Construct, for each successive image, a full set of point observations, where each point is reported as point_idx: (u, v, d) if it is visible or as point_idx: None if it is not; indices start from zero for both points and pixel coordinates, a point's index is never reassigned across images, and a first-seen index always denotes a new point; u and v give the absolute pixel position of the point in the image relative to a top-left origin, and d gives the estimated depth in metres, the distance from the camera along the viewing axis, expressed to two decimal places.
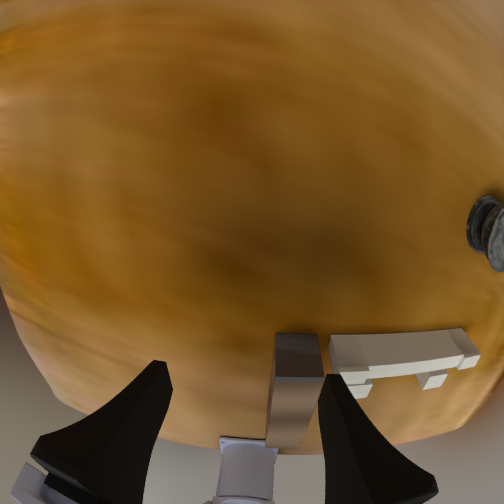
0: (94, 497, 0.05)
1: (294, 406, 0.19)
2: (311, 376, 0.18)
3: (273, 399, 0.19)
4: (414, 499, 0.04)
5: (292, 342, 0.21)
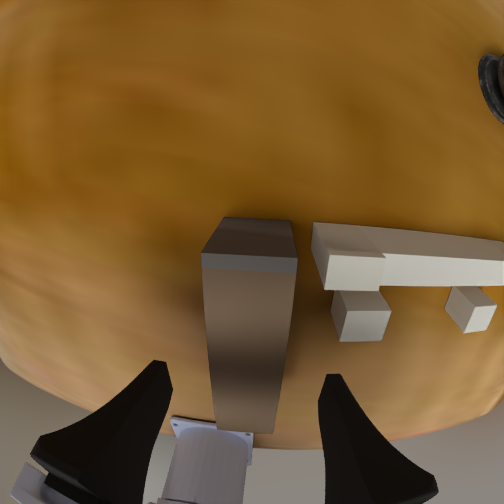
0: (94, 497, 0.05)
1: (247, 336, 0.11)
2: (270, 255, 0.10)
3: (206, 316, 0.11)
4: (414, 499, 0.04)
5: (247, 224, 0.13)
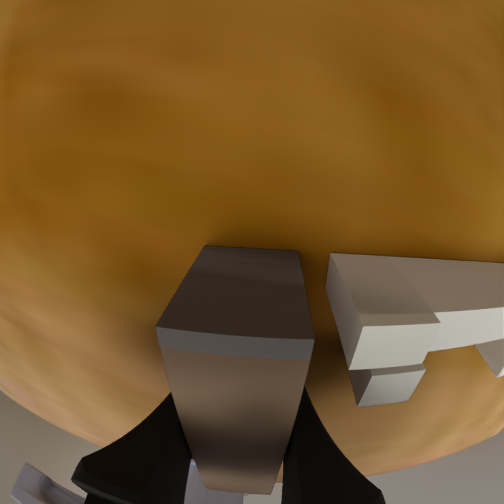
0: None
1: (235, 424, 0.07)
2: (269, 334, 0.06)
3: (176, 401, 0.07)
4: None
5: (235, 260, 0.09)
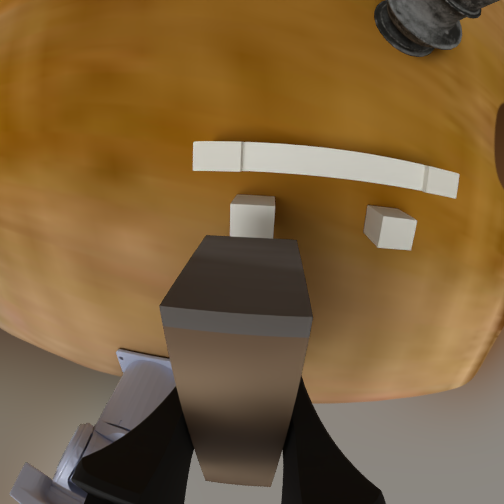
0: None
1: (236, 408, 0.07)
2: (269, 311, 0.06)
3: (178, 384, 0.07)
4: None
5: (236, 247, 0.10)
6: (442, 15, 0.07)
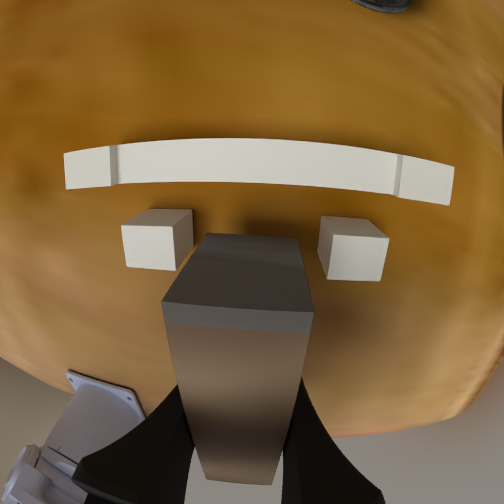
0: None
1: (237, 405, 0.07)
2: (270, 307, 0.06)
3: (179, 380, 0.07)
4: None
5: (237, 244, 0.10)
6: None
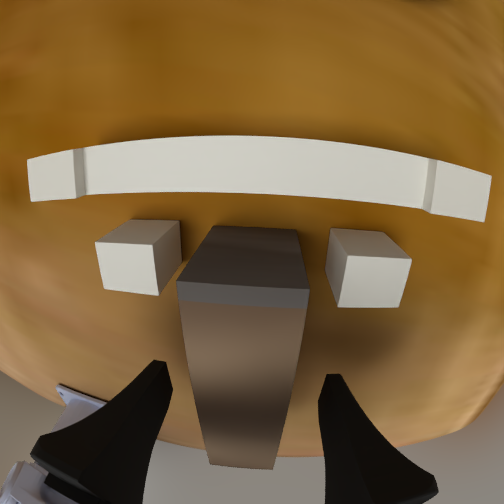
0: (94, 497, 0.05)
1: (242, 380, 0.08)
2: (272, 284, 0.07)
3: (189, 357, 0.08)
4: (414, 499, 0.04)
5: (241, 235, 0.11)
6: None
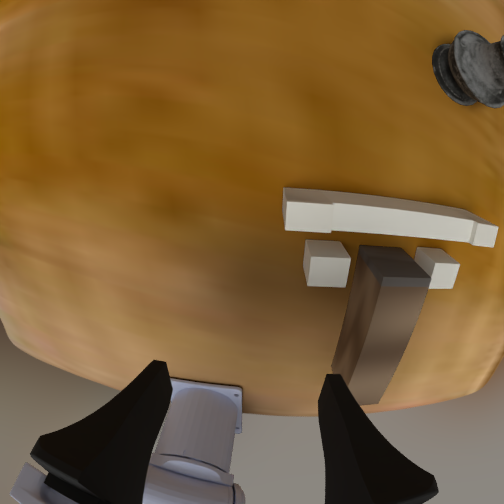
0: (94, 497, 0.05)
1: (393, 328, 0.15)
2: (418, 276, 0.14)
3: (373, 318, 0.15)
4: (414, 499, 0.04)
5: (381, 252, 0.18)
6: (502, 81, 0.08)
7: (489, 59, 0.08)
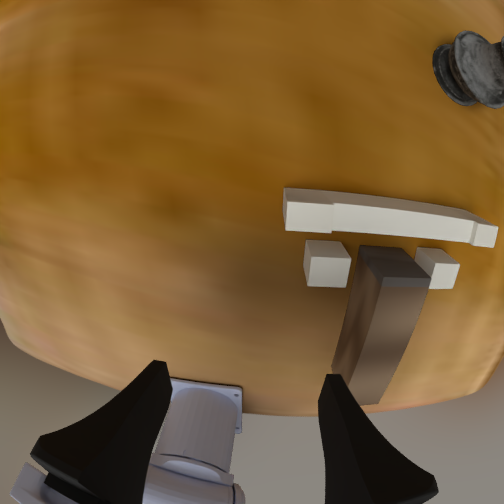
0: (94, 497, 0.05)
1: (393, 328, 0.15)
2: (418, 277, 0.14)
3: (373, 318, 0.15)
4: (414, 499, 0.04)
5: (381, 252, 0.18)
6: (503, 82, 0.08)
7: (490, 60, 0.08)
